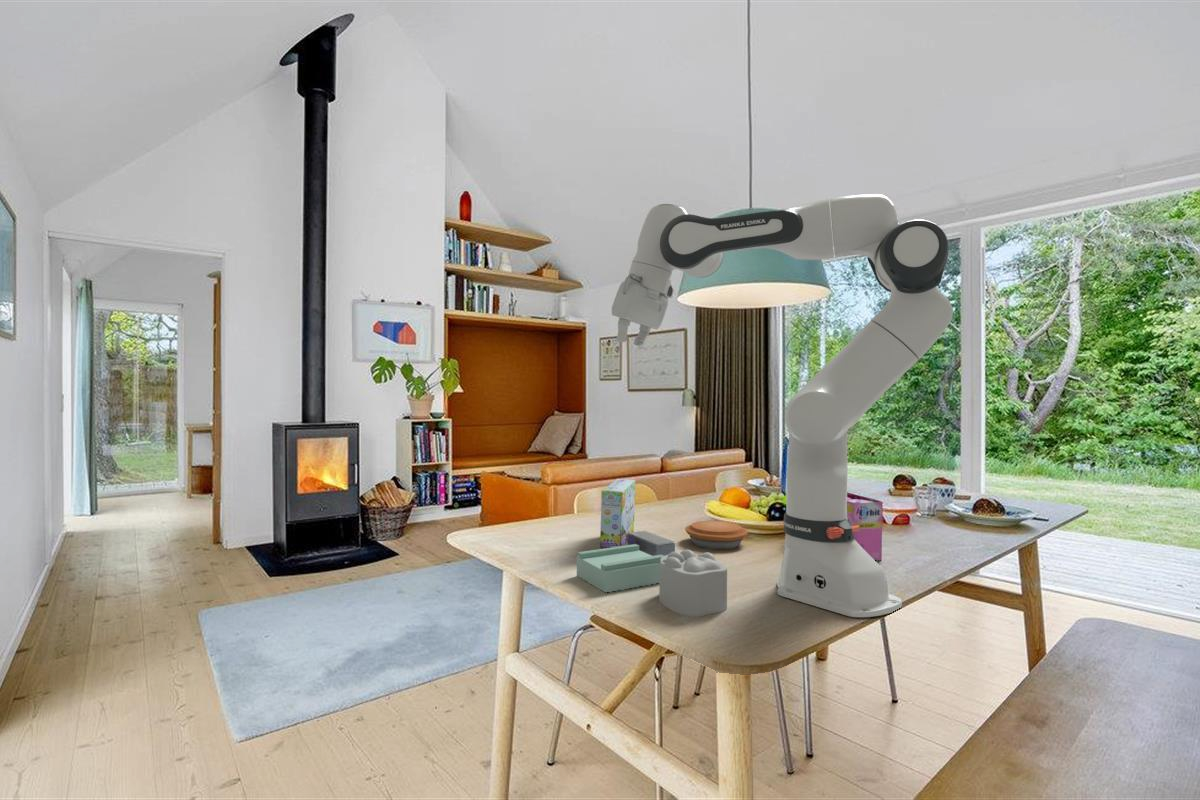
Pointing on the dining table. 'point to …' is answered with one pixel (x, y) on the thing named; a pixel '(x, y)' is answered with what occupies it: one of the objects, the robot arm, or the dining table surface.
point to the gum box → (866, 523)
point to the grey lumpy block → (693, 583)
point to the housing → (651, 543)
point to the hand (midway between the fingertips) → (629, 343)
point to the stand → (618, 568)
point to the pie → (716, 534)
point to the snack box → (617, 513)
